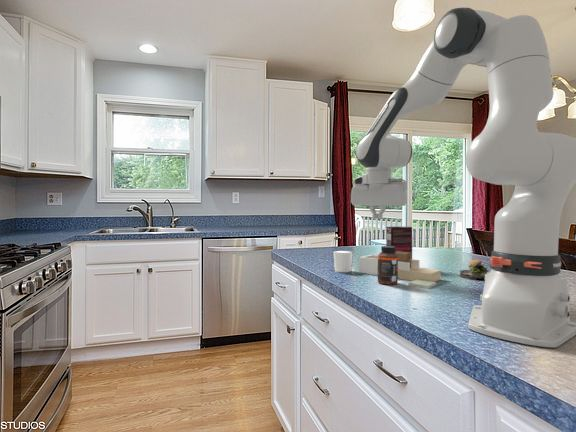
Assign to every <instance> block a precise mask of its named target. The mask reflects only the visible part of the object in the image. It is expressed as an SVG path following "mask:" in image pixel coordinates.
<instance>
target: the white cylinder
mask: <svg viewBox="0 0 576 432" xmlns="http://www.w3.org/2000/svg"><path fill="white" fill-rule="evenodd" d="M332 252H333V262H334V263H333V265H334V271H335V272H337V273H351V270H352V262H353V251H350V250H336V251H332Z"/></svg>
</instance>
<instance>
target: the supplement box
mask: <svg viewBox="0 0 576 432" xmlns="http://www.w3.org/2000/svg"><path fill="white" fill-rule="evenodd" d="M385 230H386V232H385V233H386V234H385V236H386V240H385V241H386V242H385V244H386V245H385V246H394V247H395V252H396V251H400V252H410V253H412V254H413V226H386V229H385ZM411 259H413V257H412V258H411Z"/></svg>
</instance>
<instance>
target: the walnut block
mask: <svg viewBox="0 0 576 432" xmlns="http://www.w3.org/2000/svg"><path fill="white" fill-rule="evenodd" d="M395 253H396V254H397V255H398V261H399V262H407V263H410V268H411V258H412V259H413V252H412V253H410V252H400V251H396V252H395Z"/></svg>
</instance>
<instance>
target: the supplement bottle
mask: <svg viewBox="0 0 576 432" xmlns="http://www.w3.org/2000/svg"><path fill="white" fill-rule="evenodd" d="M380 251H381V252H379V253H378V254H377V255H378V275H377V283H379V284H380V285H387V286H389V285H390V286H391V285H392V286H394V285H397V284H398V280H399V279H398V255H397V254H396V253H395V247H394V246H386V245H382V246H381V248H380Z"/></svg>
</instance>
